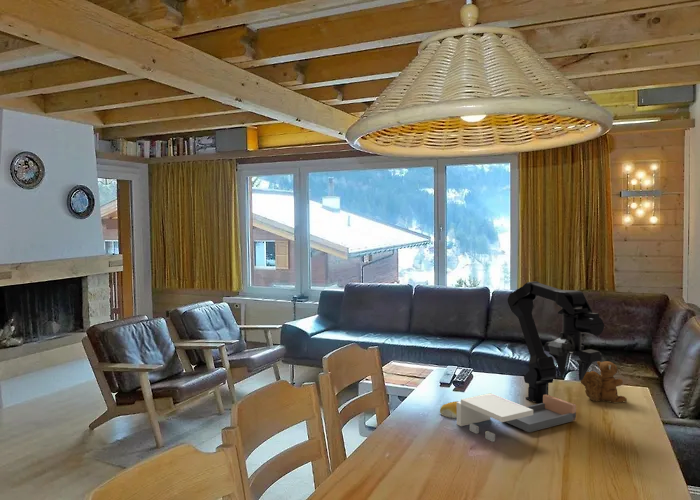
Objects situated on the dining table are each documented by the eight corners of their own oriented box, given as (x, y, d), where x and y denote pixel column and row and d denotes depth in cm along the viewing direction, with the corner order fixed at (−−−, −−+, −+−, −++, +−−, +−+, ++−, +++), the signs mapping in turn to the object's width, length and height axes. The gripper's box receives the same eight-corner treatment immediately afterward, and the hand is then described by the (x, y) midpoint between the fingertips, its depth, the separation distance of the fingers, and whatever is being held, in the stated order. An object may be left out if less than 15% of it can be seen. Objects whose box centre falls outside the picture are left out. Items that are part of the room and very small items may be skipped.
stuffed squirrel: (629, 402, 199) (630, 364, 198) (591, 405, 197) (592, 367, 196) (612, 393, 209) (612, 357, 208) (575, 395, 207) (576, 359, 206)
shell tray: (546, 409, 192) (546, 394, 191) (575, 420, 181) (576, 404, 181) (500, 419, 182) (500, 404, 182) (529, 432, 172) (529, 415, 171)
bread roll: (472, 413, 191) (472, 401, 190) (457, 420, 184) (457, 408, 184) (450, 407, 196) (450, 396, 196) (435, 414, 190) (435, 402, 190)
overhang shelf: (486, 417, 186) (486, 391, 185) (533, 438, 168) (533, 409, 168) (456, 424, 180) (456, 397, 180) (502, 446, 163) (502, 417, 162)
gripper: (532, 327, 192) (531, 373, 193) (578, 337, 175) (577, 388, 176) (556, 324, 197) (555, 369, 198) (603, 333, 180) (602, 383, 181)
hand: (571, 377), depth 188 cm, fingers open, 7 cm apart
